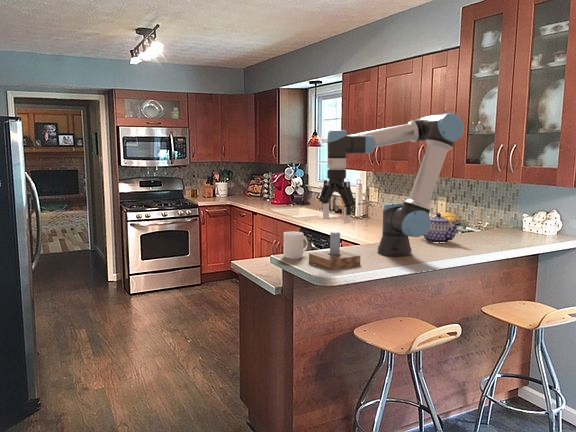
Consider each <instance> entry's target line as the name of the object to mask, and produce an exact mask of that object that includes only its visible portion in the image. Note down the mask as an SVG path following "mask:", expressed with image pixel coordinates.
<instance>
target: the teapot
mask: <svg viewBox="0 0 576 432" xmlns="http://www.w3.org/2000/svg"><path fill="white" fill-rule="evenodd" d="M430 219H431V226H430V228H429V230H428V231H427V233H425V234H424V235H422V237H423V238H424V239H425V240H426V242H427V241H429V242H428V243H430V242H439V243H440V242H449V241H452V240H453V239H455V236H456V235H457V234H456V233H457V229H458V227H459V226H460V225H461V223H460V222H455V223H454V224H452V223H451V222H450V221H449V218H448V217H444V216H442V214H441V213H440V212H438V213H435V216H430Z"/></svg>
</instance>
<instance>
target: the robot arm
mask: <svg viewBox="0 0 576 432" xmlns="http://www.w3.org/2000/svg"><path fill="white" fill-rule="evenodd" d="M464 132H465V124H464V122H463V120H462V118H461V117H460V116H459V115H458V114H456V113H453V112H451V113H450V112H444V113H439V114H429V115H426V116H424V117H421V118H417V119H414V120H409V121H408V122H407V123H405V124H400V125H395V126H390V127H384V128H380V129H375V130H369V131H364V132H358V133H354V134H347V133H348V132H347V130H345V129H331V130H329V131H328V133H327V141H326V142H327V171H326V172H327V176H326V178H327V179H324V180H323V186H322V189H321V192H320V194H319V198H318V202H321V205H322V220H329V219H330V202H329V201H330V199H331V198H332V196H333V194H334V193H337V194H339V196H340V198H341V201H343V204H344V207H343V224H351V215H352V207H353V206H356V201H355V199H354V195H353V192H352V189H351V182H350V181H345V179H346V178H347V170H346V168H347V155H353V154H354V155H363V154H364V155H367V154H373V152H374V151H375V149H376V148H380V147H385V146H390V145H395V144H400V143H404V142H405V143H406V142H412V143H416V142H417V143H418V142H425V143H426V145H427V146H426V149H425V153H424V155H423V158H422V161H421V163H420V166H419V169H418V172H417V175H416V178H415V180H414V184H413V186H412V189H411V192H410V195H409V197H408V199H406V200H404V201H403V203H397V202H396V203H385V204H383V209H382V235H381V239H380V241H379V245H378V246H377V253H378V254H380V255H383V256H389V257H407V255H408V256H410V255H412V247H411V243H410V242H411V241H410V238H419V237H420V238H421V237H423V235H424V234H425V233H427V231H428V230H429V228H430V226H431V219H430V217H431V215H430V213H431V211H432V209H431V208H430V206H429V205H430V203H431V199H432V196H433V194H434V190H435V189H436V188H435V187H436V185H437V182H438V179H439V177H440V173H441V172H442V171H441V170H442V168H443V164H444V161H445V160H446V156H447V153H448V152H449V151H451V150H453V147H454V144H455V142H457V141H459V140H460V139H461V138H462V137H463V136H464ZM409 237H410V238H409Z"/></svg>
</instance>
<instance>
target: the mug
mask: <svg viewBox="0 0 576 432" xmlns="http://www.w3.org/2000/svg"><path fill="white" fill-rule="evenodd" d="M304 240H305V242H306V245H305V247H304ZM308 244H309V243H308V238H307V236H305V235H304V232H302V231H284V232H283V257H284V258H285V257H286V258H285V259H287V258H290V259H289V260H299V258H300V259H302V258H303V257H304V253H305V252H306V251H307V249H308Z"/></svg>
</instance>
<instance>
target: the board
mask: <svg viewBox="0 0 576 432" xmlns="http://www.w3.org/2000/svg"><path fill="white" fill-rule="evenodd" d="M308 263H309V264H311V263H312V264H311V265H314V264H315V266H317V267H321V268H322V269H325V270H328V271H332V270H338V269H344V268H350V267H355V266H360V265H361V254H356V253H353V252H351V251H350V252H349V251H346V250H343V249H340V255H339V256H331V255H330V250H324V251H323V250H322V251H316V252H311V253H310V252H309V253H308Z"/></svg>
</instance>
